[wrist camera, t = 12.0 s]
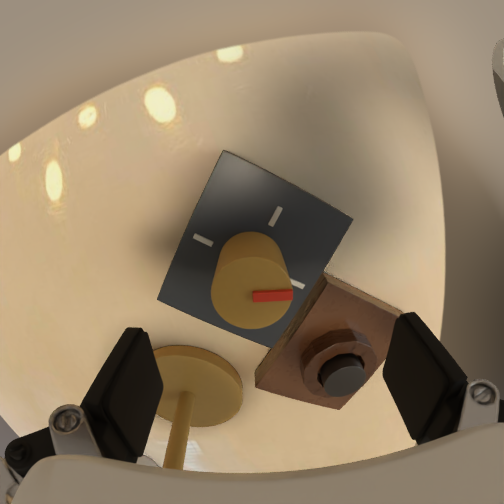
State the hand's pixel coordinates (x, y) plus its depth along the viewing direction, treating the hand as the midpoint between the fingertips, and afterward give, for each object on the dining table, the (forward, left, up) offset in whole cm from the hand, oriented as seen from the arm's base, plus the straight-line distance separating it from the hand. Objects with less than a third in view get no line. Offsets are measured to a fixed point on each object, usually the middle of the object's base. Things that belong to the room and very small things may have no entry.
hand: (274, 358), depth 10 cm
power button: (+6, +10, -10) cm, 15 cm away
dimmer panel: (+1, -1, -13) cm, 13 cm away
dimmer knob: (+1, -1, -11) cm, 11 cm away
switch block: (+6, +10, -13) cm, 18 cm away
